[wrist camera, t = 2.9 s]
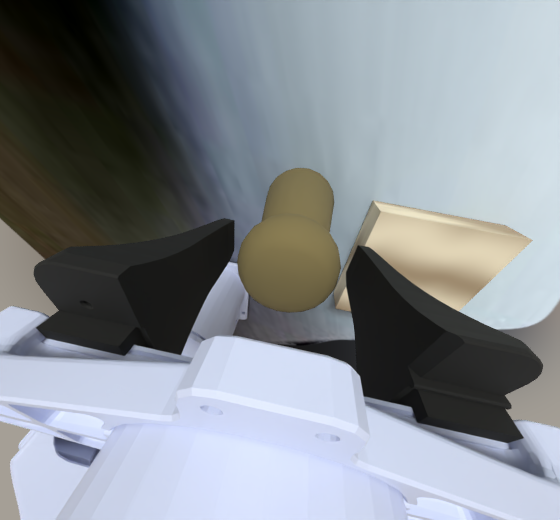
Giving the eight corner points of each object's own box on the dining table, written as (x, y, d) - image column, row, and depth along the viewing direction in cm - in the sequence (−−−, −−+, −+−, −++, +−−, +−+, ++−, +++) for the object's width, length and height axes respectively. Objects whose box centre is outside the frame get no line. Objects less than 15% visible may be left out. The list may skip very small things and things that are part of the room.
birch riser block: (427, 311, 23) (439, 329, 21) (333, 292, 23) (335, 308, 21) (505, 225, 16) (532, 240, 14) (372, 200, 17) (380, 211, 15)
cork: (308, 244, 20) (303, 343, 11) (255, 214, 19) (203, 296, 10) (349, 192, 17) (389, 276, 8) (287, 152, 15) (250, 193, 7)
